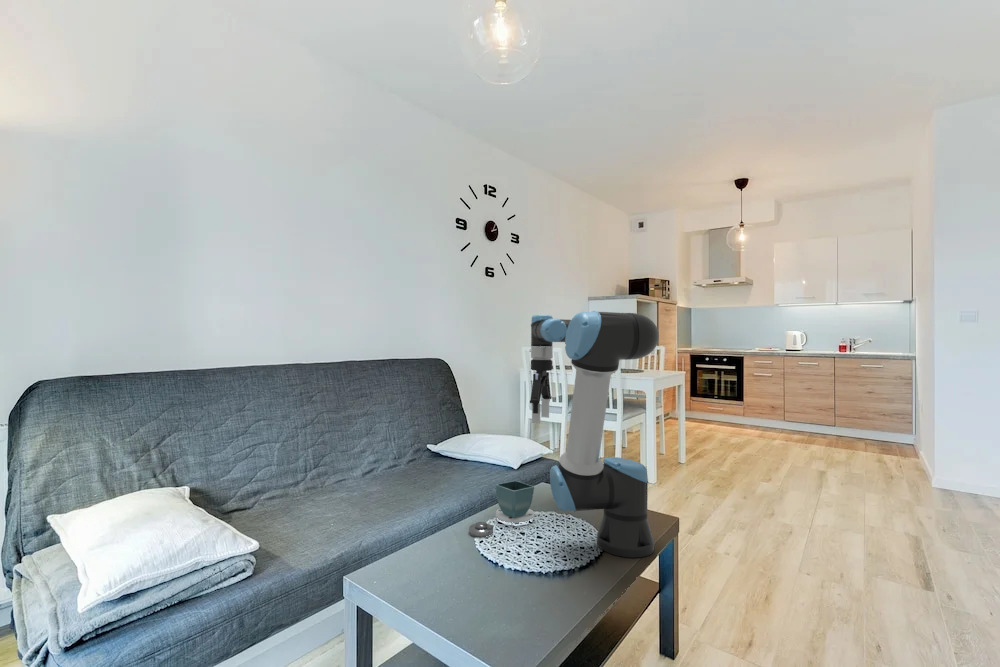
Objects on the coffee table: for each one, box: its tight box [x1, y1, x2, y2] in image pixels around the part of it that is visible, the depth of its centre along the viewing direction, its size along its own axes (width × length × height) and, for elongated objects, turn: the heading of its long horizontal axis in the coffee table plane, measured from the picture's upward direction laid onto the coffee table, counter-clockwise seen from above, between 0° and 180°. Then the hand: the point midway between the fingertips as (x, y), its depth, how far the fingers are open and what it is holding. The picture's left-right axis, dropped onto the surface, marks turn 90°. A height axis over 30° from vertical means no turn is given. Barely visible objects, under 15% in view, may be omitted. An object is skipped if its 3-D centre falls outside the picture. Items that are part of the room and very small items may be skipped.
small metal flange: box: [468, 521, 494, 538], centre depth 133 cm, size 7×7×2 cm
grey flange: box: [495, 507, 535, 523], centre depth 144 cm, size 12×12×2 cm
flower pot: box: [495, 480, 535, 518], centre depth 142 cm, size 9×9×9 cm
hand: (540, 420), depth 160 cm, fingers open, 13 cm apart
